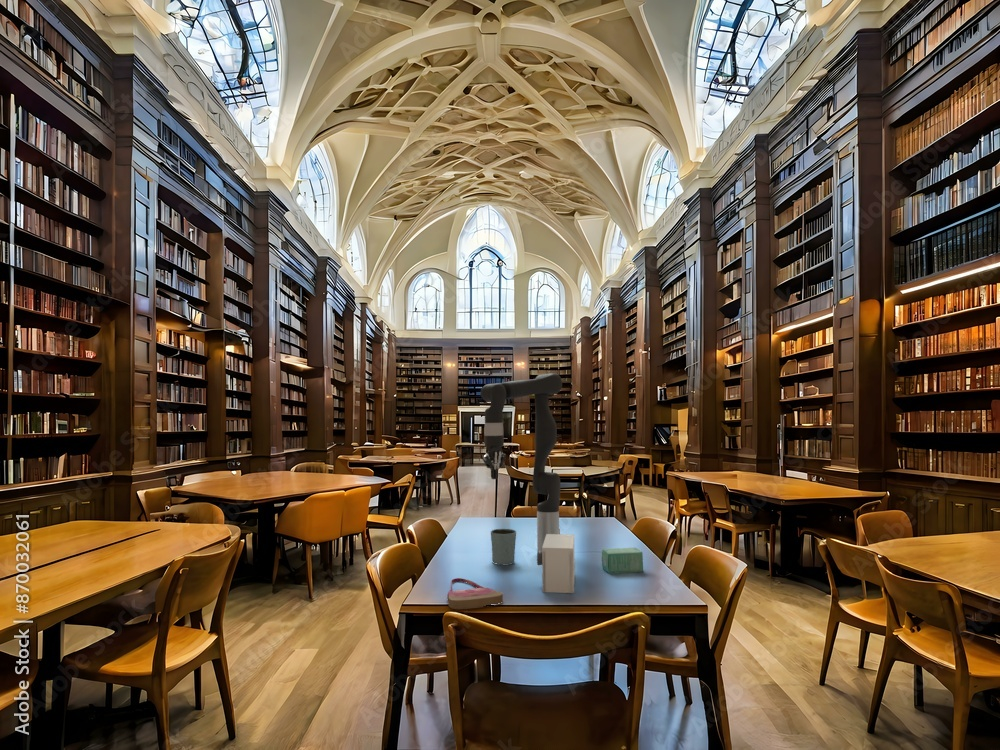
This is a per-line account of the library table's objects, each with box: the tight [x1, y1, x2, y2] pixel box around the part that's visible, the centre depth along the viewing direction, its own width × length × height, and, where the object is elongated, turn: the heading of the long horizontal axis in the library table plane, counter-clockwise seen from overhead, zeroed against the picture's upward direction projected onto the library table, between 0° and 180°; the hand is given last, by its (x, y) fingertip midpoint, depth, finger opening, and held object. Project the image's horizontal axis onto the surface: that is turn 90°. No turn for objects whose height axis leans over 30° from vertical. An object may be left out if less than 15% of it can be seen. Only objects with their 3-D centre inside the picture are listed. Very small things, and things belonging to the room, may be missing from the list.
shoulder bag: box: [446, 577, 504, 610], centre depth 178 cm, size 17×3×28 cm
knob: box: [536, 551, 542, 566], centre depth 190 cm, size 5×8×5 cm, turn 82°
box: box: [601, 547, 644, 575], centre depth 205 cm, size 7×14×8 cm, turn 99°
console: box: [541, 533, 576, 594], centre depth 190 cm, size 22×10×14 cm, turn 172°
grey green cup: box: [490, 528, 517, 565], centre depth 217 cm, size 10×10×12 cm
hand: (494, 478), depth 217 cm, fingers closed
